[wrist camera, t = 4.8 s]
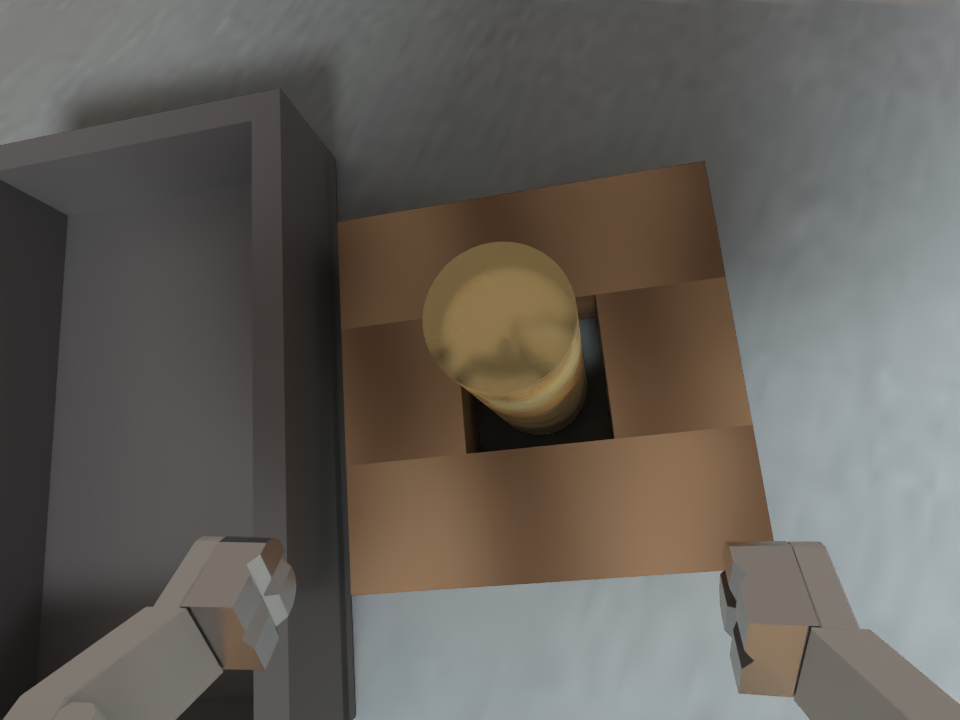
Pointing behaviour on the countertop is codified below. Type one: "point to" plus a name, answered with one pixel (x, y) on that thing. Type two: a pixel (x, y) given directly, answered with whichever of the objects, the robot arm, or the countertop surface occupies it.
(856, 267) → the countertop surface
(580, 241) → the block
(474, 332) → the pin
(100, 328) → the tray
